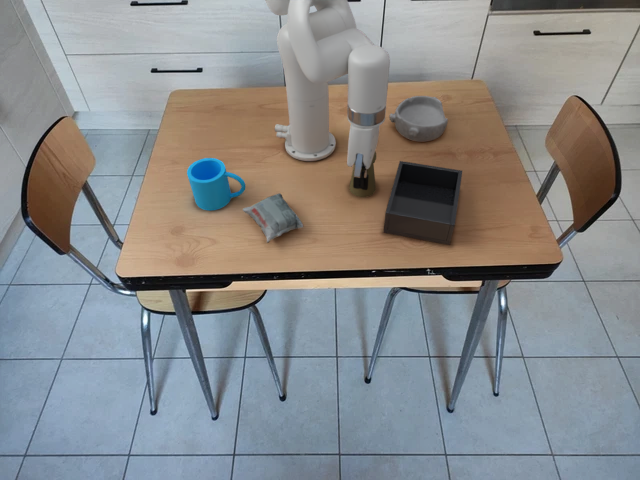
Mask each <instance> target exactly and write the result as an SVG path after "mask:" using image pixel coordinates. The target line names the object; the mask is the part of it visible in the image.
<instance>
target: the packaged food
mask: <svg viewBox="0 0 640 480" xmlns="http://www.w3.org/2000/svg"><path fill="white" fill-rule="evenodd" d="M242 212H243V213H245V214H247V215H249V217H251V218H252V219H253V221H254V222H255V223H256V224H257V225H258V227H259V228H261V231H262V233H263V234H264V236H265V238H266V243H267V244H268V243H270V242H271V241H272V240H274V239H275V238H277V237H280V236H282V235H283V234H286V233H288V232H290V231H293V230H296V229H297V230H298V229H302V228H303V227H304V224H303V222H302V220H301V219H300V217H299V216H298V214H297V213H296V212H295V211H294V210H293V209H292V208H291V207H290V205H289V204H288V202H286V200H285V199H284V197H283V195H282V194H281V193H280V192H279V193H276V194H273V195H271V196H268V197H266V198H264V199H261V200H260V201H258V202H256V203H255V204H253V205H251V206H247V207H246V206H245V207H244V208H242Z"/></svg>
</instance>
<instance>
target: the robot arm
mask: <svg viewBox="0 0 640 480" xmlns="http://www.w3.org/2000/svg"><path fill="white" fill-rule="evenodd" d="M264 1H265V4H266V6H267V7H268V9H269V10H270V12H271V13H273V15H276V16H286V15H287V17H286V18H287V19H286V23H284V24H283V25H282V26H281V27H280V28H279V30H278V33H277V36H276V44H277V49H278V53H279V56H280V60H281V63H282V68H283V73H284V80H285V82H284V83H285V91H286V101H287V112H288V122H289V124H288V125H284V124H278V123H276V124H275V126H274V132H276V135H275V136H276V138H279V139H285V140H284V148H285V151H286V153H287V154H288V155H289V156H290V157H292V158H294V159H296V160H298V161H304V162H316V161H320V160H323V159H326V158H327V157H329V156H331V155H332V154H333V152H334V151H335V149H336V144H337V141H336V137H335V136H334V134H333V133H332V132H330V97H329V96H330V94H329V82H332V81H334V80H337V79H339V78H341V77H343V76H345V75H347V107H346V108H347V109H346V111H347V112H346V113H347V115H346V117H347V119H346V120H347V121H348V122H349V124H350V126H349V133H348V141H347V156H346V157H347V158H346V165H347V167H349V168H353V166H354V162H355V166H354V179H353V187H354V188H356V189H362V190H367V189H368V179H369V175H367V173H368V168H370V165H371V163H372V159H373V156H374V153H375V151H376V150H377V147H378V143H379V137H380V127H381V125H382V124H384V122H385V120H386V113H387V103H388V88H389V78H390V67H391V58H390V54H389V53H388V51H387V49H385V48H384V47H382V46H380V45H377V44H374V43H373V41H372V40H371V39H370V38H369V37H368V36H367V35H366V34H365V33H364V32H363V31H362V30H360V29H359V28H358V27H357V23H356V20H355V16H354V14H353V12H352V9H351V6H350V4H349V1H348V0H264ZM311 7H315V9H316V10H315V11H313V12H310V10H311ZM376 152H377V151H376ZM363 163H364V164H363ZM362 168H365V170H364V171H362Z"/></svg>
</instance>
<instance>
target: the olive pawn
mask: <svg viewBox="0 0 640 480" xmlns="http://www.w3.org/2000/svg"><path fill="white" fill-rule="evenodd" d="M376 160H377V151H375V153H374V156H373V159H372V163H371V165H370V168H368V173H367V175H369V179H368V189H367V190H362V189H356V188H354V187H353V179H354V166H355V162H354V164H353V166H352V172H351V177H350V182H349V186H348V187H349V192H350V193H351V194H352V195H354V196H355V197H358V198H368V197H371V196H372V195H374V194H375V193H376V191H377V190H376V189H377V187H376V177H375V176H376V175H375V165H374V164H375V162H376ZM363 164H364V163H363ZM364 170H365V168H362V171H364Z"/></svg>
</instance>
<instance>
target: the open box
mask: <svg viewBox="0 0 640 480" xmlns="http://www.w3.org/2000/svg"><path fill="white" fill-rule="evenodd" d="M462 177H463V170H461V169H456V168H455V169H454V168H448V167H442V166H435V165H428V164H423V163H416V162H412V161H411V162H408V161H403V160H399V162H398V165H397V170H396V173H395V177H394V180H393V184H392V188H391V191H390V195H389V199H388V202H387V205H386V209H385V213H384V223H383V232H382V233H383V234H389V235H392V236H399V237H405V238H410V239H414V240H420V241H426V242H431V243H436V244H442V245H447V246H450V245H451V241H452V237H453V234H454V229H455V226H456V219H457V212H458V205H459V198H460V192H461V184H462Z"/></svg>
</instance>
